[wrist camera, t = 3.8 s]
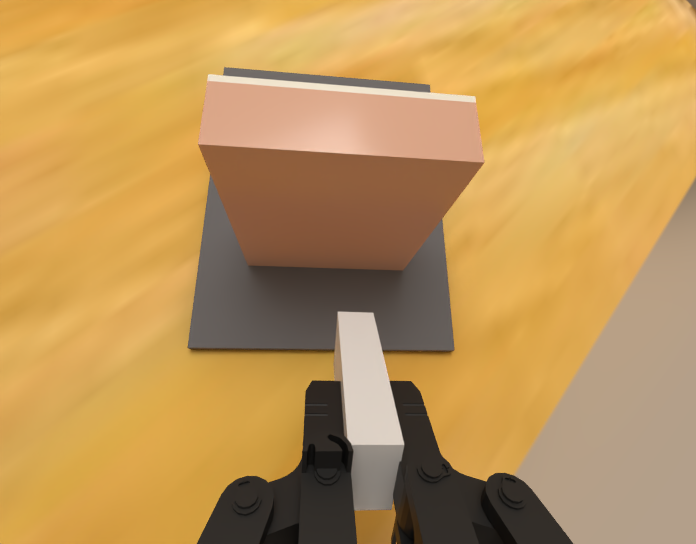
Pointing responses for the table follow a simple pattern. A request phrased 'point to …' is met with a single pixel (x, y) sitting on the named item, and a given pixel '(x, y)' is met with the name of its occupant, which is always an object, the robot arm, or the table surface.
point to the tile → (335, 168)
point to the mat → (314, 283)
